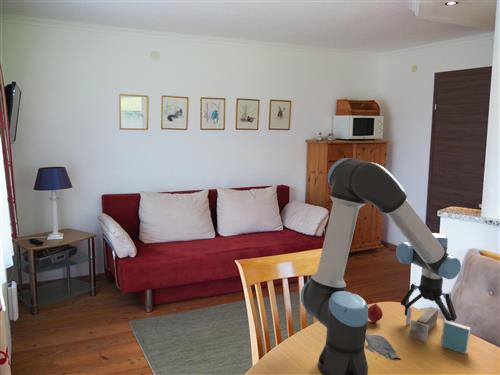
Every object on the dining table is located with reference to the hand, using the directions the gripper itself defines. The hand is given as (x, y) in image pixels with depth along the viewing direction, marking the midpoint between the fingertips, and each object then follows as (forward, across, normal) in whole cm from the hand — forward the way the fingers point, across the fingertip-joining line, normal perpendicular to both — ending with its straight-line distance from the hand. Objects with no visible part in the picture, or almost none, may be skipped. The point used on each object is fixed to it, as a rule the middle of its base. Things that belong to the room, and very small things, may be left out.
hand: (425, 329), depth 168 cm
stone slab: (+1, +9, +24) cm, 26 cm away
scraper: (0, 0, 0) cm, 0 cm away
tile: (0, -12, +7) cm, 14 cm away
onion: (0, +17, +8) cm, 19 cm away
